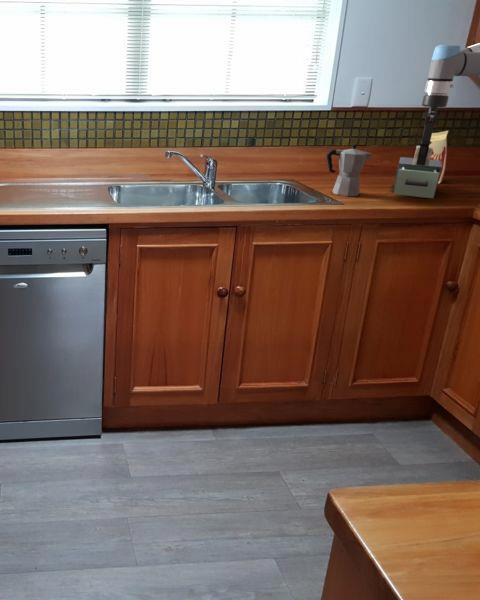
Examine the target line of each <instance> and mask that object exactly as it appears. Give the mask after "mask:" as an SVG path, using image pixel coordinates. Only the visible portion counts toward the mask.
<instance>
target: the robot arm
mask: <svg viewBox="0 0 480 600" xmlns="http://www.w3.org/2000/svg"><path fill="white" fill-rule="evenodd" d="M427 75H428V76H427V80H426V83H425V87H424V93H425V94H424V95H423V97H422V102H421V106H422V107H427V108H429V109H428V111H425V115H424V123H423V125H424V129H423V133H422V137H421V140H420V143H418V145H417V146H420V149H419V154H418V158H417V162H416V165H425V162H426V158H427V154H428V149H429V145H430V144H431V143H432V141H430V140H431V136H432V133H433V131H434V127H435V126H436V124H437V123H436V122H437V121H438V120H437V119H438V118H439V116H440V112H439V111H438V108H446V107H448V101H449V98H450V96H449V94H450V92H451V88H454V84H453V82H454V77H477V78H480V42H478V43H476V44H473V45H470V46H466V47H464V48H463V47H462V48H461V46H460V45H453V44H451V45H450V44H448V45H447V44H439V45H437V46H435V48H434V50H433V54H432V57H431V62H430V67H429V71H428V74H427Z"/></svg>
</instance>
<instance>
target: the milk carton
mask: <svg viewBox="0 0 480 600" xmlns="http://www.w3.org/2000/svg"><path fill="white" fill-rule="evenodd" d="M448 133H449V130H445V131H439V132H432V136H431V140H430V141H432V143H431V144H430V145H429V147H433V150H432V154H431V158H430V160H441V164H442V168H441V172H440V177H439V181H438V184H441V183H442V182H443V179H444V175H445V171H446V167H447V166H446V164H447V154H448V150H447V149H448V148H447V147H448V145H447V144H448V143H447V137H448Z"/></svg>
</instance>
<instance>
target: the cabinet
mask: <svg viewBox="0 0 480 600" xmlns="http://www.w3.org/2000/svg"><path fill="white" fill-rule="evenodd" d="M413 161H414V157H403V156H400V158H399V162H398V164H397V170H396V173H395V174H396V175H395V180H394V184H393V189H392V193H393V194H394V191H395V186H396V182H397V177H398V172H399V169H402V167H403V166H407V167H418V168H429V169H436V170H437V172H438V173H439V177H440V172H441V168H442V164H441V160H430V163H429V166H421V165H413ZM439 177H438V181H439ZM438 181H437V185H436V189H435V193H434V197H436V192H437V188H438V184H439V183H438Z"/></svg>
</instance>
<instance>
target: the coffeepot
mask: <svg viewBox="0 0 480 600" xmlns="http://www.w3.org/2000/svg"><path fill="white" fill-rule="evenodd" d="M357 146H358V144H357V143H352V144H351V148H349V149H335V148H334V149H331V150H329V151H328V152H327V153H326V156H325V158H326V161H327V166H328V167H327V168H328V171H329V173H331V174H332V173H333V174H335V173H336V171H337V170H336V169H333V166H334V165H333V157H332V156H338V157H339V158H338V170H339V173H338V175H337V178H336V180H335V183H334V187H333V189H332V193H333V194H334V195H336V196H341V197H357V196H359V195H360V173H361V172H362V170H363V167H364V165H365V163H366V162H367V161H369V159H370V158H371V157H373V156H374V154H373V153H371V152H368V151H364V150H360V149H357Z"/></svg>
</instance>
